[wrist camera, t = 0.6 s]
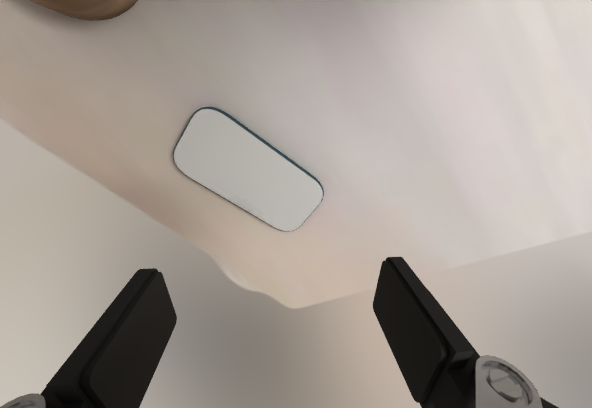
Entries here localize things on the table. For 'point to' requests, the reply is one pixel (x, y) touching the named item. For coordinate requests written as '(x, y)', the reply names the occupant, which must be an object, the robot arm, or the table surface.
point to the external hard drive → (246, 170)
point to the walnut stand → (89, 7)
